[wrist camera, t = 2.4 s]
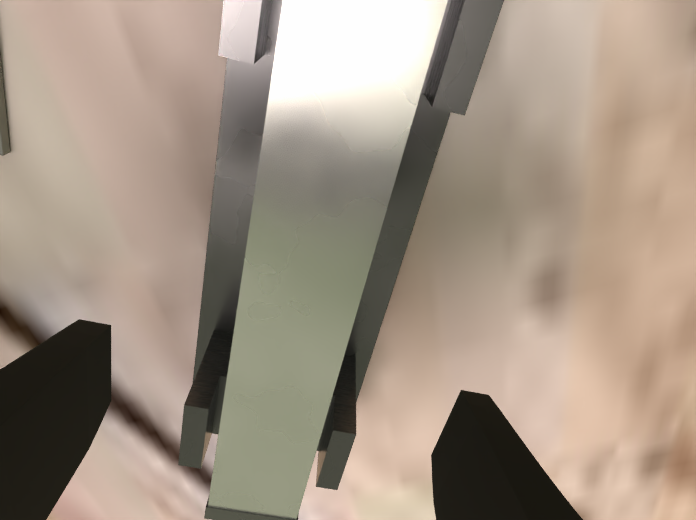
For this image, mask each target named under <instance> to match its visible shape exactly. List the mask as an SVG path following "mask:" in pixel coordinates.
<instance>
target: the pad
mask: <svg viewBox="0 0 696 520" xmlns="http://www.w3.org/2000/svg"><path fill="white" fill-rule="evenodd" d="M9 152H10V145H9V135H8V126H7V116H6V106H5V96H4V86H3V76H2V67H1V57H0V155H5V154H7V153H9Z"/></svg>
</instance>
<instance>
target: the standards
mask: <svg viewBox="0 0 696 520" xmlns="http://www.w3.org/2000/svg"><path fill="white" fill-rule="evenodd" d="M503 1H504V0H448V1H447V5H446V8H445V12H444V15H443V18H442V22H441V25H440V29H439V32H438V36H437V39H436V43H435V46H434V49H433V53H432V56H431V60H430V63H429V67H428V70H427V73H426V77H425V80H424V84H423V87H422V91H421V94H420V97H419V101H418V104H417V108H416V111H415V115H414V118H413V121H412V125H411V128H410V132H409V135H408V139H407V142H406V145H405V149H404V152H403V156H402V159H401V163H400V166H399V169H398V173H397V176H396V180H395V183H394V187H393V190H392V193H391V197H390V200H389V204H388V207H387V211H386V214H385V217H384V221H383V224H382V228H381V231H380V235H379V238H378V241H377V245H376V248H375V252H374V255H373V259H372V262H371V265H370V269H369V272H368V276H367V279H366V283H365V286H364V289H363V293H362V296H361V300H360V303H359V307H358V310H357V313H356V317H355V320H354V324H353V327H352V331H351V334H350V337H349V341H348V344H347V348H346V351H345V355H344V358H343V361H342V365H341V368H340V372H339V375H338V379H337V382H336V385H335V389H334V392H333V396H332V399H331V403H330V406H329V409H328V413H327V416H326V420H325V423H324V427H323V430H322V433H321V437H320V440H319V444H318V447H317V451H319V452H318V465H317V479H316V487H321V488H328V489H334V490H337V489H338V486H339V483H340V480H341V477H342V474H343V471H344V469H345V466H346V463H347V460H348V457H349V454H350V451H351V448H352V445H353V442H354V439H355V436H356V401H357V398H358V395H359V392H360V389H361V386H362V383H363V379H364V376H365V373H366V370H367V367H368V364H369V361H370V358H371V355H372V352H373V349H374V346H375V343H376V340H377V336H378V333H379V330H380V327H381V324H382V321H383V318H384V315H385V312H386V309H387V306H388V303H389V300H390V297H391V293H392V290H393V287H394V284H395V281H396V278H397V275H398V272H399V269H400V266H401V263H402V260H403V257H404V254H405V250H406V247H407V244H408V241H409V238H410V235H411V232H412V229H413V226H414V223H415V220H416V217H417V214H418V211H419V207H420V204H421V201H422V198H423V195H424V192H425V189H426V186H427V183H428V180H429V177H430V174H431V171H432V168H433V164H434V161H435V158H436V155H437V152H438V149H439V146H440V143H441V140H442V137H443V134H444V131H445V128H446V125H447V121H448V118H449V115H450V112H453V113H457V114H461V115H465V113H466V110H467V107H468V104H469V101H470V98H471V95H472V92H473V89H474V86H475V83H476V81H477V78H478V75H479V72H480V69H481V66H482V63H483V60H484V57H485V54H486V51H487V48H488V45H489V42H490V39H491V36H492V33H493V31H494V28H495V25H496V22H497V19H498V16H499V13H500V10H501V7H502V4H503ZM282 3H283V0H224V1H223V11H222V21H221V32H220V42H219V52H218V56H221V57H225V58H227V63H226V73H225V82H224V92H223V101H222V111H221V120H220V130H219V139H218V149H217V158H216V168H215V177H214V187H213V196H212V206H211V215H210V225H209V234H208V244H207V253H206V263H205V272H204V282H203V291H202V301H201V310H200V320H199V329H198V339H197V348H196V358H195V367H194V377H193V384H192V387H191V389H190V392H189V394H188V397H187V400H186V402H185V405H184V413H183V423H182V434H181V444H180V454H179V465H182V466H189V467H195V468H201V467H202V464H203V460H204V457H205V454H206V451H207V448H208V444H209V441H210V438H211V435H212V433H214V434H219V428H220V421H221V414H222V407H223V401H224V394H225V387H226V380H227V374H228V367H229V360H230V353H231V347H232V340H233V333H234V327H235V320H236V313H237V306H238V300H239V293H240V286H241V279H242V273H243V266H244V259H245V253H246V246H247V239H248V232H249V226H250V219H251V212H252V205H253V199H254V192H255V185H256V178H257V172H258V165H259V158H260V152H261V145H262V138H263V131H264V125H265V118H266V111H267V104H268V98H269V91H270V84H271V78H272V71H273V64H274V57H275V51H276V44H277V37H278V30H279V24H280V17H281V10H282Z"/></svg>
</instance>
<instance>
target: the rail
mask: <svg viewBox="0 0 696 520" xmlns="http://www.w3.org/2000/svg"><path fill="white" fill-rule="evenodd" d="M447 1H448V0H283V3H282V10H281V17H280V24H279V30H278V37H277V44H276V51H275V57H274V64H273V71H272V78H271V84H270V91H269V98H268V104H267V111H266V118H265V125H264V131H263V138H262V145H261V152H260V158H259V165H258V172H257V178H256V185H255V192H254V199H253V205H252V212H251V219H250V226H249V232H248V239H247V246H246V253H245V259H244V266H243V273H242V279H241V286H240V293H239V300H238V306H237V313H236V320H235V327H234V333H233V340H232V347H231V353H230V360H229V367H228V374H227V380H226V387H225V394H224V401H223V407H222V414H221V421H220V428H219V434H218V441H217V448H216V454H215V461H214V468H213V475H212V481H211V488H210V495H209V498H208V502H207V505H206V510H205V517H204V518H205V519H212V520H298V513H299V509H300V505H301V502H302V499H303V495H304V492H305V488H306V485H307V481H308V478H309V475H310V471H311V468H312V464H313V461H314V457H315V454H316V451H317V447H318V444H319V440H320V437H321V433H322V430H323V427H324V423H325V420H326V416H327V413H328V409H329V406H330V403H331V399H332V396H333V392H334V389H335V385H336V382H337V379H338V375H339V372H340V368H341V365H342V361H343V358H344V355H345V351H346V348H347V344H348V341H349V337H350V334H351V331H352V327H353V324H354V320H355V317H356V313H357V310H358V307H359V303H360V300H361V296H362V293H363V289H364V286H365V283H366V279H367V276H368V272H369V269H370V265H371V262H372V259H373V255H374V252H375V248H376V245H377V241H378V238H379V235H380V231H381V228H382V224H383V221H384V217H385V214H386V211H387V207H388V204H389V200H390V197H391V193H392V190H393V187H394V183H395V180H396V176H397V173H398V169H399V166H400V163H401V159H402V156H403V152H404V149H405V145H406V142H407V139H408V135H409V132H410V128H411V125H412V121H413V118H414V115H415V111H416V108H417V104H418V101H419V97H420V94H421V91H422V87H423V84H424V80H425V77H426V73H427V70H428V67H429V63H430V60H431V56H432V53H433V49H434V46H435V43H436V39H437V36H438V32H439V29H440V25H441V22H442V18H443V15H444V12H445V8H446V5H447Z"/></svg>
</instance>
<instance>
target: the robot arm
mask: <svg viewBox="0 0 696 520" xmlns="http://www.w3.org/2000/svg"><path fill="white" fill-rule="evenodd" d="M110 402H111V325H107V324H102V323H96V322H91V321H85V320H80V319H79V320H77V321H76V322H74V323H73V324H71V325H69V326H68V327H66V328H64V329H63V330H61V331H60V332H58V333H57V334H55V335H54V336H52V337H50V338H49V339H47V340H46V341H44V342H43V343H41V344H40V345H38V346H36V347H35V348H33V349H32V350H30V351H29V352H27V353H26V354H24V355H22V356H21V357H19V358H18V359H16V360H15V361H13V362H12V363H10V364H8V365H7V366H5V367H3V368H2V369H0V520H46V519H47V517H48V516H49V514H50V513H51V511H52V509H53V508H54V506H55V504H56V503H57V501H58V499H59V498H60V496H61V495H62V493H63V491H64V490H65V488H66V486H67V485H68V483H69V481H70V480H71V478H72V476H73V475H74V473H75V471H76V470H77V468H78V466H79V465H80V463H81V461H82V460H83V458H84V456H85V455H86V453H87V451H88V450H89V448H90V446H91V444H92V441H93V439H94V437H95V435H96V433H97V431H98V429H99V427H100V424H101V422H102V420H103V418H104V415H105V413H106V411H107V409H108V406H109V404H110ZM431 457H432V483H433V498H434V508H435V514H436V520H583V519H582V518H581V517H580V516H579V514H578V513H577V512H576V511H575V510H574V508H573V507H572V506H571V505H570V503H569V502H568V501H567V500H566V498H565V497H564V496H563V495H562V493H561V492H560V491H559V489H558V488H557V487H556V486H555V484H554V483H553V482H552V480H551V479H550V478H549V476H548V475H547V474H546V472H545V471H544V470H543V468H542V467H541V466H540V464H539V463H538V462H537V460H536V459H535V458H534V456H533V455H532V454H531V452H530V451H529V449H528V448H527V447H526V445H525V444H524V443H523V441H522V440H521V438H520V437H519V436H518V434H517V433H516V432H515V430H514V429H513V427H512V426H511V425H510V423H509V422H508V420H507V419H506V418H505V416H504V415H503V413H502V412H501V411H500V409H499V408H498V407H497V405H496V404H495V403H494V401H493V400H492V399H491V397H490V396H489V395H485V394H480V393H475V392H469V391H464V390H461V392H460V394H459V396H458V398H457V400H456V402H455V405H454V407H453V409H452V411H451V413H450V416H449V418H448V420H447V422H446V424H445V426H444V429H443V431H442V433H441V435H440V437H439V439H438V442H437V444H436V446H435V448H434V450H433V453H432V455H431Z"/></svg>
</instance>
